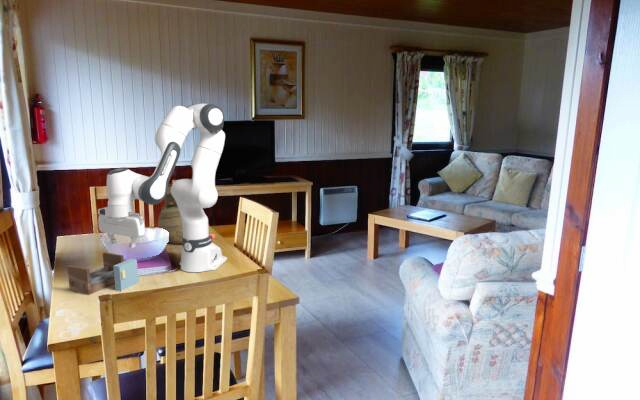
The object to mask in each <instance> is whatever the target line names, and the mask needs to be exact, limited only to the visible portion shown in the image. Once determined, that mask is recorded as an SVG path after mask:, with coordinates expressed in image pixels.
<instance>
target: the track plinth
mask: <svg viewBox="0 0 640 400" xmlns="http://www.w3.org/2000/svg"><path fill="white" fill-rule="evenodd" d="M102 260H103V261H102V262H103V267H101V268H99V269H96V270H94V271H90V269H89V268H86V267H82V266H76V265H71V264H70V265H67V266H66V268H67V276H68V277H67V279H68V286H69V291H70V292H74V293H79V294H83V295H87V296H90V295H92V294H94V293H97V292H99V291H101V290H102V289H105V288H107V287H110V286H112V285H115V278H114V267H113V266H114V265H116V264H119V263H121V262H124V261H125V260H124V255H122V254H117V253H111V252H106V251H105V252H103V253H102ZM111 284H112V285H111ZM109 285H110V286H109Z"/></svg>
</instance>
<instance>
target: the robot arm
mask: <svg viewBox="0 0 640 400" xmlns="http://www.w3.org/2000/svg"><path fill="white" fill-rule="evenodd" d="M224 122H225V114H224V111H223V109H222V108H221V107H220V106H218V105H217V104H214V103H197V104H190V105H187V106H186V107H185V106H183V105H175V106H173V107H172V108H171V110H169V111H168V113H167V114H166V116H165V117H164V118H163V120H162V122H161V123H160V124H159V126H158V127H157V130H156V133H155V135H154V141H155V144H156V147H157V148H158V149H159V150H160V158H159V161H158V163H157V165H156V167H155V169H154V170H153V171H154V172H153V173H152V175H151V176H147V175H143V174H140V173H136V172H135V171H132V170H130V169H129V168H126V167H119V168H118V167H117V168H114V169H112V170H110V171H109V172H107V175H106V193H107V196H108V197H107V198H108V201H107V206H105V207H102V208H98V209H97V214H98V219H97V221H98V230H99V231H100V232H101V233H106V234H107V237H108V239H109V243H110V245H117V241H118V240H117V239H116V238H115V235H118V236H123V237H129V238H130V240H131V241H130V242H129V243H128V248H131V249H133V248H135V247H136V242H137V240H138V238H142V237H144V236H145V234H146V229H145V222H144V218H143V216H142V215H141V214H140V213H139V212H134V204H133V203H134V201H135V200H139V201H142V202H144V203H146V204H147V205H151V206H154V205H157V204H160V203H161V202H163V201H165V197H166V194H167V189H168V184H170V183H169V182H170V180H171V177H172V175H173V173H174V170H175V168H176V165H177V163H178V161H179V158H180V156H181V151H182V150H181V149H182V147H183V144H184V142H185V140H186V138H187V136H188V134H189V132H190V131H192V130H198V131H199V140H198V142H197V145H196V146H195V147H196V148H195V150H194V152H193V156H192V158H191V161H190V167H191V169H192V177H191V179H190V178H181V179H177V180H175V181H174V182H173V183H172V184H173V185H172V187H171V194H172V196H173V198H174V199H175V201H176V203H177V206H178V209H179V212H180V215H181V219H182V230H183V237H182V244H181V246H182V247H181V250H180V251H181V253H180V254H181V255H180V257H181V258H180V261H179V266H180V270H182V272H183V271H184V272H186V273H202V272H207V271H216V270H217V269H218V268H219V267H220V266H222V265H223V264H224V263H225V262H226V261H228V257H227V256H224V255H223V253H222V252H223V251H222V248H221V247H220V246H218V245H217V244H216V243H214V242H212V240H214V239H215V238H216V234H214V233H213V234H212V233H210V231H209V230H210V229H209V218H208V216H207V215H206V213H205V210H204V209H207V208H211V207H213V206H214V205H216V203H217V201H218V196H219V192H218V191H217V188H216V174H217V173H216V172H217V169H218V166H219V162H220V159H221V156H222V153H223V151H224V147H225V142H226V141H225V140H226V133H225V131H223V128H224Z"/></svg>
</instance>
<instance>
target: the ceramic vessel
mask: <svg viewBox="0 0 640 400" xmlns="http://www.w3.org/2000/svg"><path fill="white" fill-rule="evenodd" d="M172 185H173V183H168V189H167V194H166V197H165V198H164V203H165V204H164V205H163V206H162V207H161V208H160V213H159V216H158V229H159V228H163V229H165V230H167V231H168V232H169V242H168V243H167V244H170V245H182V237H183V230H182V219H181V215H180V212H179V209H178V206H177V203H176V201H175V199H174V198H173V196H172V194H171V187H172Z"/></svg>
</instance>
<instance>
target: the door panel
mask: <svg viewBox="0 0 640 400" xmlns="http://www.w3.org/2000/svg"><path fill="white" fill-rule="evenodd" d="M113 267H114V278H115V283H114V288H115V291H118V290H123V291H125V290H127V289H129V288H131V287H133V286H135V285H137V284H136V283H138V282H139V271H138V269H139V268H138V260H137V259H136V258H129V259H126V260H124V262H121V263H119V264H116V265H114V266H113ZM134 284H135V285H134ZM138 284H139V283H138ZM132 285H133V286H132ZM130 286H131V287H130ZM128 287H129V288H128ZM126 288H127V289H126ZM124 289H125V290H124Z"/></svg>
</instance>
